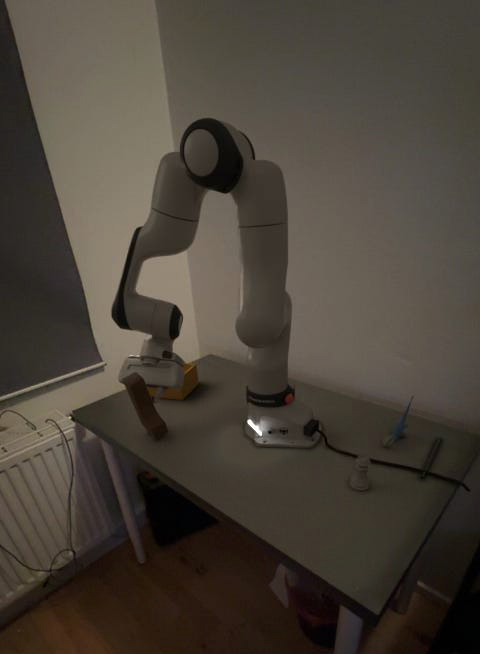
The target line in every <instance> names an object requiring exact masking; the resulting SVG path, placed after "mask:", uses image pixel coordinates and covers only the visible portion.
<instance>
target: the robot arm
mask: <svg viewBox="0 0 480 654" xmlns="http://www.w3.org/2000/svg"><path fill="white" fill-rule="evenodd" d="M180 139H181V140H180V143H179V151H170V152H167V153H165V154H163V156H162V157H161V159H160V161H159V164H158V166H157V170H156V174H155V177H154V182H153V183H154V184H153V188H152V193H151V202H150V210H149V214H148V216H147V219H146V221H145V223H144V224H143V225H140V226H138V227H136V228H135V229H134V231H133V233H132V235H131V238H130V241H129V244H128V247H127V251H126V254H125V258H124V263H123V267H122V271H121V275H120V279H119V283H118V286H117V289H116V293H115V297H114V298H113V301H112V304H111V308H110V313H111V315H110V316H111V319H112V321H113V322H114V323H115V325H116V326H117V327H118V328H119V329H120V330H126V331H132V332H134V331H135V332H138V333H142V334H145V338H144V339H143V341H142V345H141V349H140V353H139V355H137V354H136V355H135V354H130V355H128V356H127V357H125V358H124V360H123V362H122V365H121V368H120V370H119V373H118V376H117V380H118V382H119V383H120V384H122V385H124V383H123V380H122V379H123V378H125V377H127V376H129V375H130V374H132V373H134V372H137V373H138V374H139V375H140V376H141V377H142V378H143V379H144V381H145V384H146V386H147V387H148V388H157V390H158V392H157V393H156V395H155V396H151V402H153V404H159V403H160V398H161V396H162V395H163V394H164V393H165V389H168V390H177V391H179V390H180V389H181V388H182V386H183V382H184V375H185V372H184V369H183V368H184V367H185V363H186V361H185V360H184V359H183V358H182V357H181V356H180V355H178V354H177V353H176V352H174V342H175V341H176V339H178V338H179V337H180V335H181V334H180V333H181V330H182V326H183V321H184V314H183V313H182V311H181V309H180V307H179V306H178V305H177V304H175V303H173V302H170V301H167V300H164V299H163V300H162V299H160V298H159V299H158V298H155V297H149V296H146V295H143V294H140V293H139V292H138V291H137V286H138V283H139V279H140V277H141V276H140V275H141V272H142V268H143V264H144V263H145V262H146V261H148V260H150V259H153V258H161V257H170V256H176V255H179V254H181V253H183V252H185V251H187V250H189V248H190V247H191V246H192V245H193V244H194V242H195V239H196V236H197V232H198V230H199V223H200V217H201V211H202V207H203V203H204V199H205V197H206V195H207V194H208V193H209V192H210V191H213V192H217V193H220V194H223V195H227V194H228V195H230V196H231V198H232V199H233V203H234V206H235V216H236V227H237V228H236V229H237V230H236V231H237V232H236V233H237V244H238V245H237V247H238V260H239V273H238V274H239V275H238V289H237V308H236V309H237V311H236V318H235V325H234V326H235V327H234V328H235V333H236V336H237V338H238V340H239V341H240V342H241V343H242V344H244V346H246V347H248V348H247V353H246V358H245V363H246V364H245V365H246V381H247V383H246V385H245V388H246V389H245V399H246V404H247V412H246V413H247V414H246V420H245V425H244V433H245V434H246V435H247V437H249V438H250V439H252V440H253V442H254V444H255V446H257V447H263V448H264V447H265V448H291V449H292V448H293V449H294V448H295V449H311V448H313V447H315V445H317V443H318V442H319V441H320V439H321V436H322V437H323V439H324V440H323V441H324V444H325V446H326V447H327V448H328V449H329V450H332V451H334V452H336V453H339V454H342V455H346V456H350V457H353V458H355V459H357V458H358V456H360V454H356V453H352V452H348V451H345V450H340V449H337V448H335V447H333V446H331V444H329V442H328V436H327V435H326V434H325V432H323V431H322V430H323V429H322V424H321V422H320V420H319V419H316V418H315V417H314V412H313V410H312V408H311V407H310V406H309V405H307V404H306V403H304V402H303V401H301V400H300V399H299V398H297V397H296V385H293V387H292V386H291V385H290V384H289V383H288V377H289V376H288V375H289V370H288V369H289V351H290V343H291V342H290V341H291V331H292V319H293V318H292V317H293V301H292V299H291V295H290V293H289V292H288V291H287V289H286V288H287V287H286V285H287V273H288V267H289V210H288V209H289V208H288V207H289V206H288V197H287V189H286V183H285V176H284V173H283V170H282V169H281V167H280V165H278V164H277V163H275V162H273V161H271V160H268V159H256V153H255V149H254V146H253V144H252V142H251V140H250V139H249V137H248V136H247V135H246V134H245V133H244V132H242V131H241V130H238V129H237V128H236V127H235V126H234V125H232V124H230V123H228V122H226V121H223V120H218V119H217V118H213V117H202V118H200V119H197V120H195V121H193V122H192V123H190V124H189V125H188V126H187V127H186V129H185V130H184V131H183V134H182V136H181V138H180ZM148 388H147V389H148ZM161 399H162V398H161ZM369 459H370V461H371V463H376V464H380V465H384V466H389V467H395V468H400V469H405V470H409V471H414V472H417V473H421V474H422V473H423V472H426V474H425V475H429V476H432V477H435V478H438V479H441V480H444V481H448V482H450V483H451V482H452V483H455V484H458V485H459V486H461V487H462V488H463V489H464V490H465V491H466V492H468V493H470V492H471V489H470V488H469V486H467V484H466V483H464V482H463V481H461V480H459V479H456V478H453V477H449V476H444V475H442V474H438V473H435V472H433V471H430V470H427V471H425V470H424V469H421V468H417V467H413V466H409V465H405V464H400V463H393V462H388V461H383V460H379V459H374V458H370V457H369Z"/></svg>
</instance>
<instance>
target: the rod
mask: <svg viewBox="0 0 480 654" xmlns="http://www.w3.org/2000/svg"><path fill="white" fill-rule="evenodd" d="M441 440H442V437H441V436H439V437H438V438H437V440H436V443H435V445H434V446H433V449H432V451H431V453H430V456H429V457H428V459H427V462H426V464H425V466H424V469H423V470H425V471H429V470H428V469H429V467H430V465H431V463H432V462H433V461H432V460H433V459H434V456H435V454H436V452H437V450H438V448H439V445H440V443H441ZM426 475H427V474H426V472H423V473H421V474H420V479H421V480H423V479H425V477H426Z"/></svg>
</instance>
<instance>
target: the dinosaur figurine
mask: <svg viewBox="0 0 480 654" xmlns="http://www.w3.org/2000/svg"><path fill="white" fill-rule="evenodd" d="M413 399H414V396H413V395H412V396H411V398H410V401H409V403H408V405H407V407H406V409H405V410H404V412H403V414H402V416H401V417H400V419H399V421H397V422H396V423H395V424H394V425H395V426H394V427H393V430H392V433H391V435H389V436H385V435H384V436H383V437H381V439H380V440H381V445H382V446H383V447H386V449H388V448H389V447H390V446H391V445H392V443H394V441H396V440H397V439H399V438H404V437H405V433H406V428H408V427H409V424H407V423H406V421H407V416H408V413H409V409H410V407H411V404H412V401H413ZM405 423H406V424H405Z"/></svg>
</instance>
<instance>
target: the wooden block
mask: <svg viewBox="0 0 480 654" xmlns="http://www.w3.org/2000/svg"><path fill="white" fill-rule="evenodd" d="M122 380H123V383H124V384H123V385H124V387H125V389H126V393H127V394H128V395H129V396H128V397H129V399H130V401H131V403H132V406H133V407H134V410H135V412H136V415H137V417H138V419H139V421H140V423H141V425H142V426H143V427H144V428H145V429H146V430H147V431H148V433H149V434H150V435H151V436H152V437H153V438H154V439H155V440H157V439H159V438H161V437H162V436H164V435H166V434H168V432H169V429H168V426H167V423H166V421H165V420H164V419H163V418H162V417H161V415H160V413H159V412H158V411H157V409H156V407H155V405H154V403H153V402H151V399H152V396H150V394H149V392H148V388H147V386H146V384H145V381H144V379H143V378H142V377H141V376H140V375H139V374H138V373H137V372H134V373H132V374H130V375H129V376H127V377H125V378H123V379H122Z"/></svg>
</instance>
